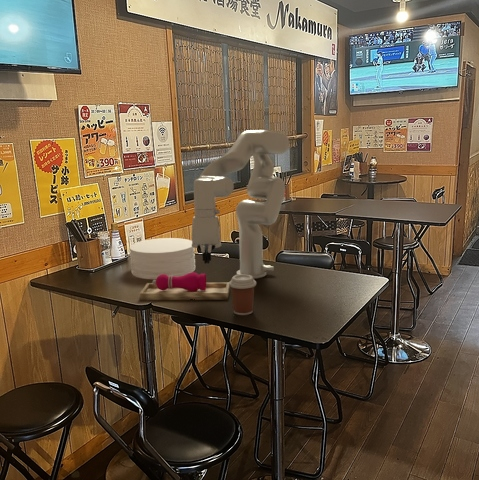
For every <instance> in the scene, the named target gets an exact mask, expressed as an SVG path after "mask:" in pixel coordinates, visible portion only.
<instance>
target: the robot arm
mask: <svg viewBox="0 0 479 480" xmlns="http://www.w3.org/2000/svg"><path fill="white" fill-rule="evenodd" d="M289 141H290V140H289V137H288V135H286V134H285V133H284V132H279V131H273V130H272V131H271V130H267V129H259V130H258V129H255V130H254V129H252V130H251V129H250V130H245V131H243V132H241V133H240V135H239V136H238V137H237V139H236V140H235V141H234V142H233V145H232V146H231V147H230V149H229V150H228V151H227V152H226V153H225V154H223V155H222V156H221V157H219V158H217V159H215V160H214V161H212V162H211V163H210V164H208V165H207V166H206V167H205V168H204V169H203V171H202V172H201V173H200V175H199V177H198V178H197V179H194V181H193V203H194V205H193V206H194V216H193V217H192V225H191V241H192V247H194V249H198V250H199V251H200V252H201V256H202V261H203V262H204V264H205V265H206V264H210V262H211V261H212V251H214V250H215V249H217V248H221V247H222V243H221V225H220V220H219V216H218V214H220V211H221V210H220V209H217V207H216V198H226V197H229V196H230V195H231V194H232V193H233V192H234V188H235V185H234V181H232V179H231V178H229V177H227V176H226V175H229V174H233V173H236V172H238V171H242V169H244V168H245V167H246V165H247V164H248V163H249V161H250V159H251V158H252V157H253V163H254V164H253V169H252V172H251V175H250V178H249V181H248V184H247V187H246V193H247V195H248V196H249V197H250V198H251V199H243V200H241V201H240V202H238V203H237V206H236V207H235V214H236V219H237V223H238V232H239V233H238V234H239V235H238V238H239V245H238V247H239V270H237V271H236V275H240V274H246V275H251V276H252V277H253V279H254V280H255V279H261V278H263V277H265V276H267V272H274V267H275V266H274V265H273V266H271V265H270V264H269V265H265V264H264V262H263V259H264V258H263V255H264V254H263V253H264V252H263V231H262V229H261V226H260V225H265V226H271V225H273V224H275V223H276V221H277V219H278V217H279V213H280V211H281V207H282V204H283V201H284V197H285V193H286V185H285V182H284V179H282V178H280V177H279V176H273V175H274V171H275V169H274V168H275V166H274V162H273V161H272V159H271V158H270V156H269V155H283V154H284V153H286V152H287V151H288V149H289V146H290V142H289ZM206 245H208V246H207V247H208V249H207V250H206Z"/></svg>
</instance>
